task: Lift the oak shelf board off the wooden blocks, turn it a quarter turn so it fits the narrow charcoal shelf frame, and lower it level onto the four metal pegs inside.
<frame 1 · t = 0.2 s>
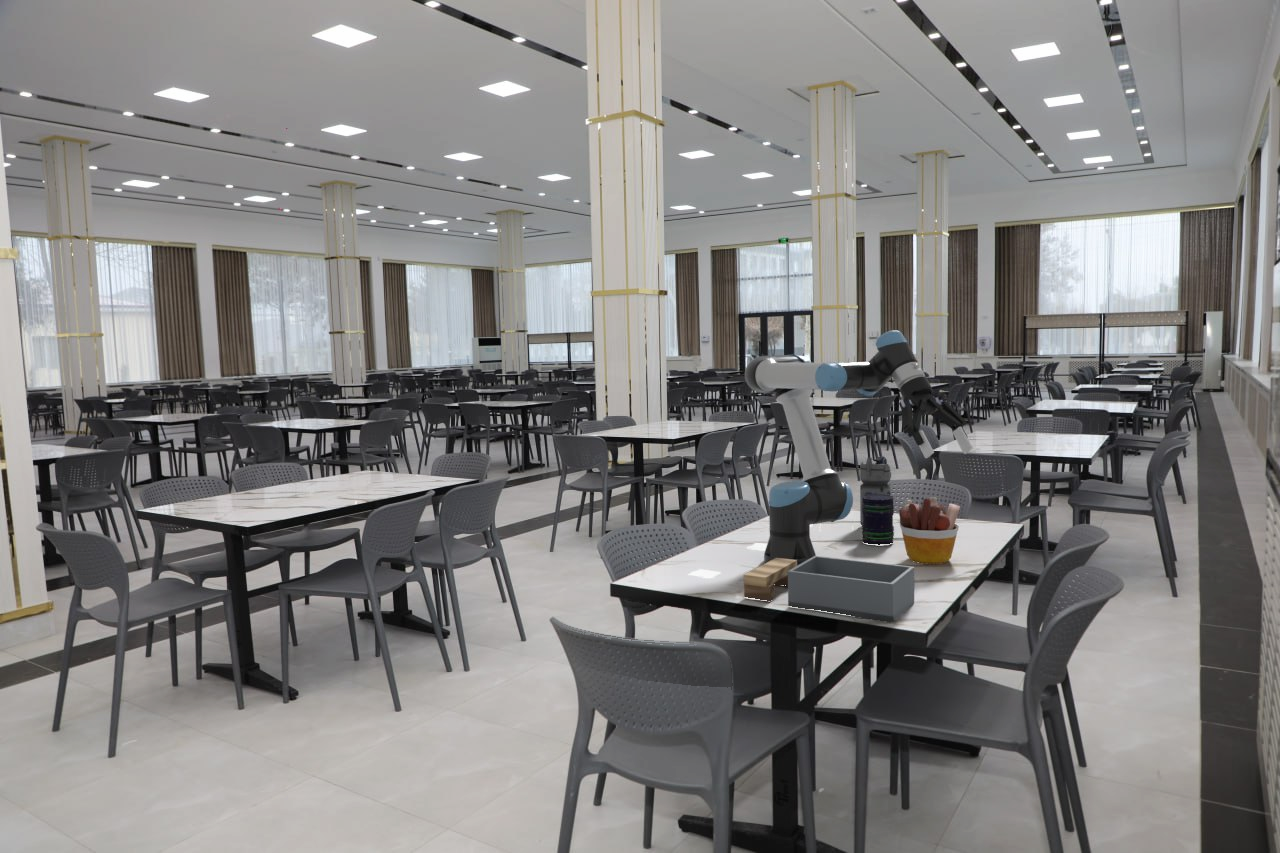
hand: (949, 453, 216), 36 cm above the table, tool tilted 35°, fingers open, 13 cm apart
storage jar: (877, 543, 277), on the table
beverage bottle: (876, 527, 301), on the table
shelf board: (771, 576, 224), point 4 cm above the table, touching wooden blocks
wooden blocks: (771, 591, 224), on the table
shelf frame: (851, 605, 211), on the table
bucket of meat: (928, 561, 252), on the table
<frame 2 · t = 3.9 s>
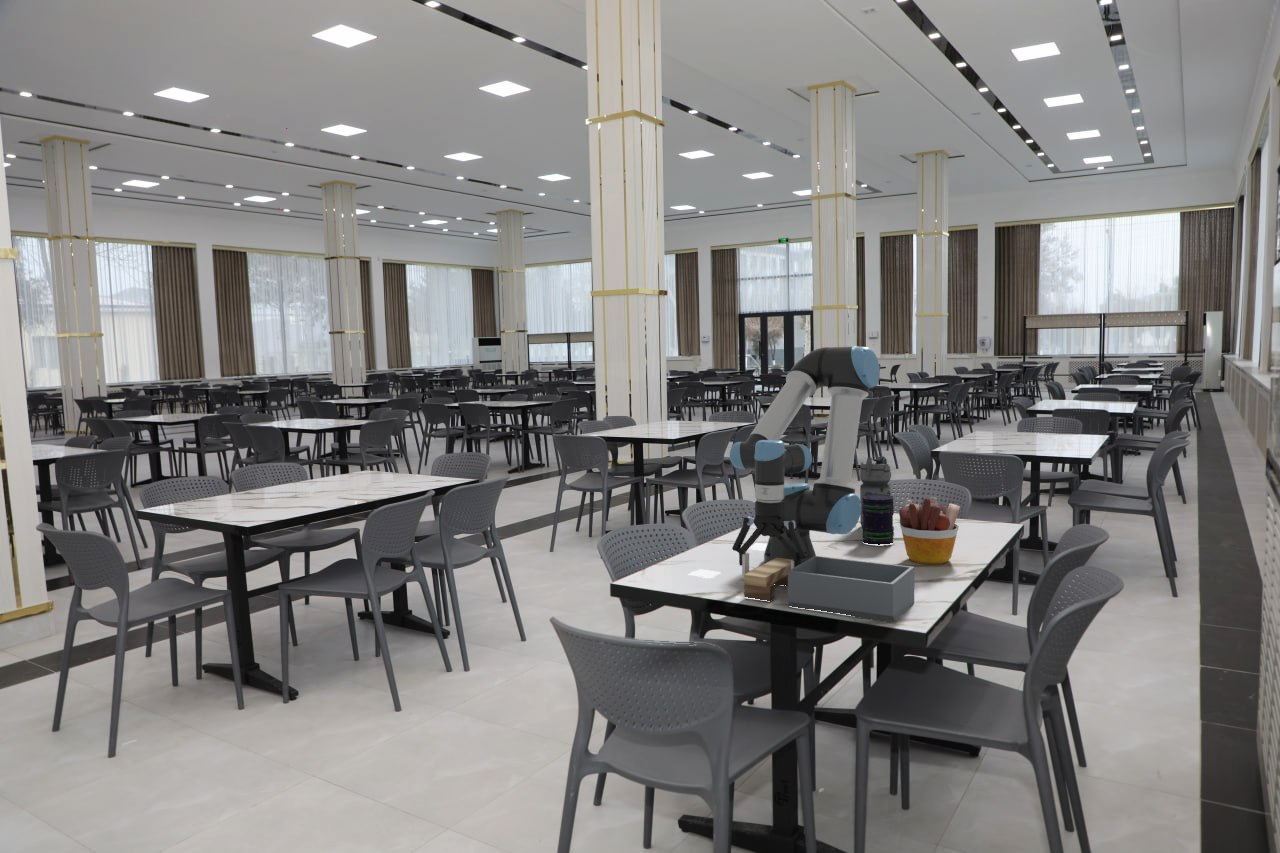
hand: (769, 581, 224), 3 cm above the table, tool pointing down, fingers open, 13 cm apart
nothing on the table moved.
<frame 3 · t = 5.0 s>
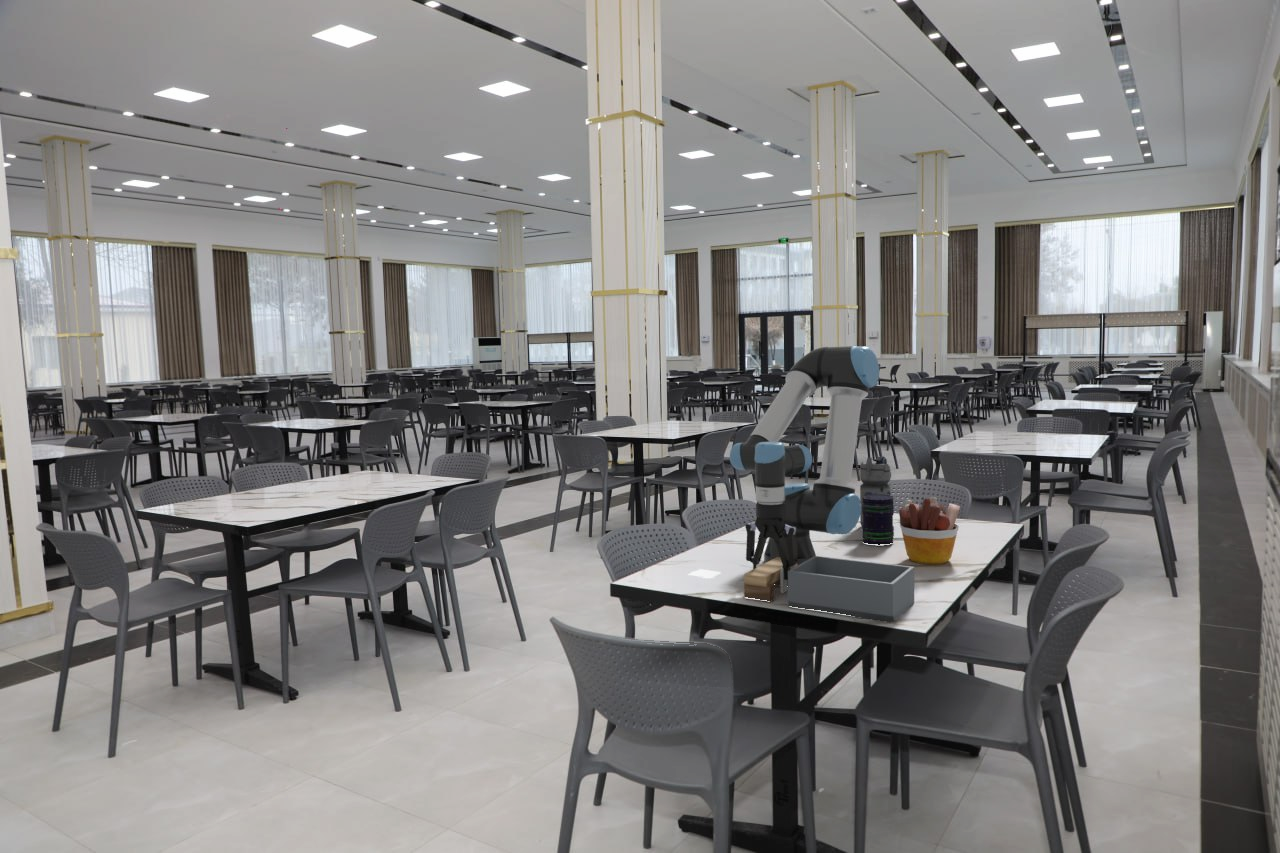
hand: (771, 589, 224), 1 cm above the table, tool pointing down, fingers closed on shelf board, 6 cm apart
shelf board: (771, 576, 224), point 4 cm above the table, touching gripper
everything else where it was.
when the fingers open (4 cm above the table, at t = 10.4 s): shelf board drops 1 cm, resting on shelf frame.
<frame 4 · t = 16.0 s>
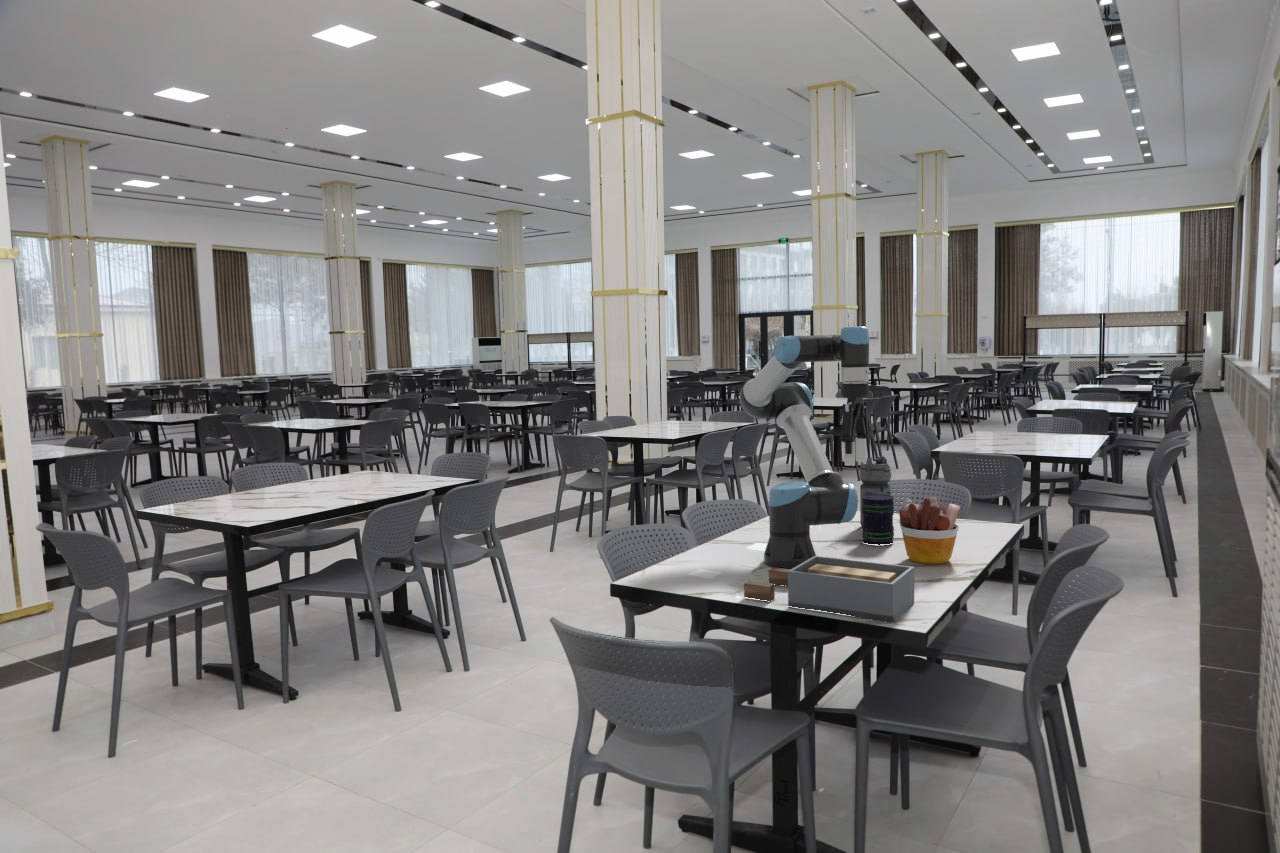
hand: (855, 463, 241), 30 cm above the table, tool pointing down, fingers open, 9 cm apart
shelf board: (851, 581, 210), point 6 cm above the table, touching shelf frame
everything else where it was.
at the end: shelf board 0.0 cm off-centre on the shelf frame, point 6.0 cm above the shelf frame's base; shelf board tilted 0°; the gripper is holding nothing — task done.
